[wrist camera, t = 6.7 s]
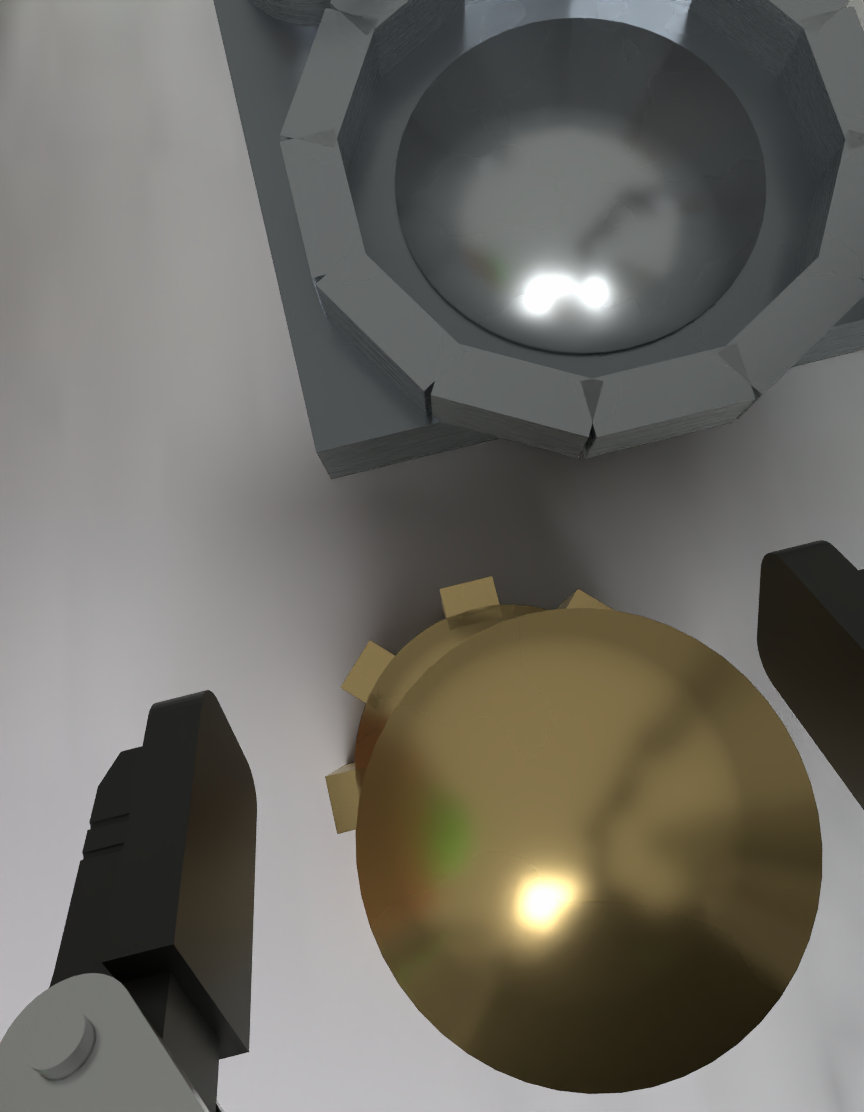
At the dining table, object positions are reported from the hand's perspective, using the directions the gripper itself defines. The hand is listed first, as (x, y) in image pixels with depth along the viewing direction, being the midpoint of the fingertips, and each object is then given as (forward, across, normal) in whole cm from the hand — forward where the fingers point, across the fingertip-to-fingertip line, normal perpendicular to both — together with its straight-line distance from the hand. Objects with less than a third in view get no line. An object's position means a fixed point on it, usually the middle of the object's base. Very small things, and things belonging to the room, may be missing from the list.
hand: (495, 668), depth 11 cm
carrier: (+11, -4, -4) cm, 12 cm away
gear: (+2, 0, +4) cm, 5 cm away
